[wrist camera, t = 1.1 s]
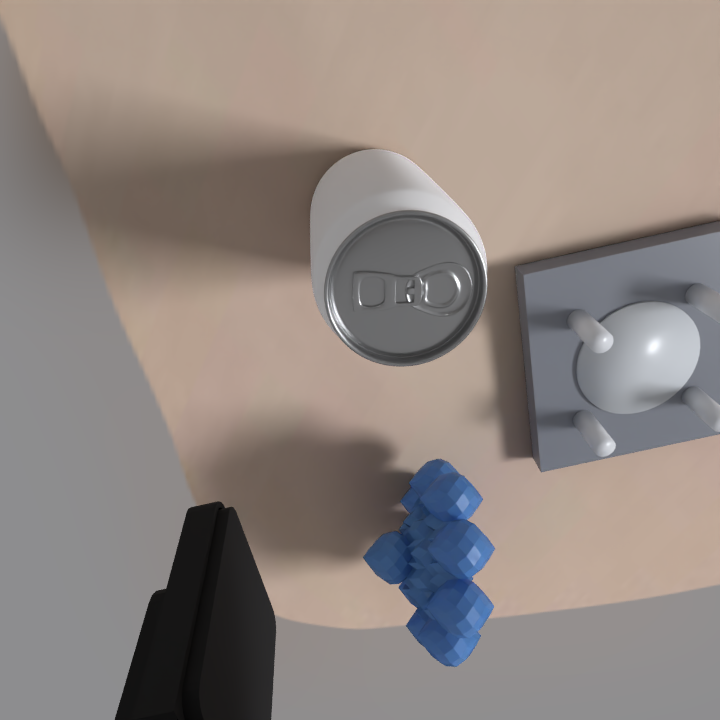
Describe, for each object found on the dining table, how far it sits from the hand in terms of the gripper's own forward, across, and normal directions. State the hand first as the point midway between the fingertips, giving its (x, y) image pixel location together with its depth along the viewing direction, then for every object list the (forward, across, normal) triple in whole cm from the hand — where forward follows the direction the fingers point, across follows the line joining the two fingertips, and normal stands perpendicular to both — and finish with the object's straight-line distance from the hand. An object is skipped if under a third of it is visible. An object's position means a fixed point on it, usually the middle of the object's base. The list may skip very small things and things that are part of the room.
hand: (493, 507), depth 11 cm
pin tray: (+23, -13, +11) cm, 29 cm away
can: (+23, 0, 0) cm, 23 cm away
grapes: (+23, +1, +18) cm, 29 cm away
